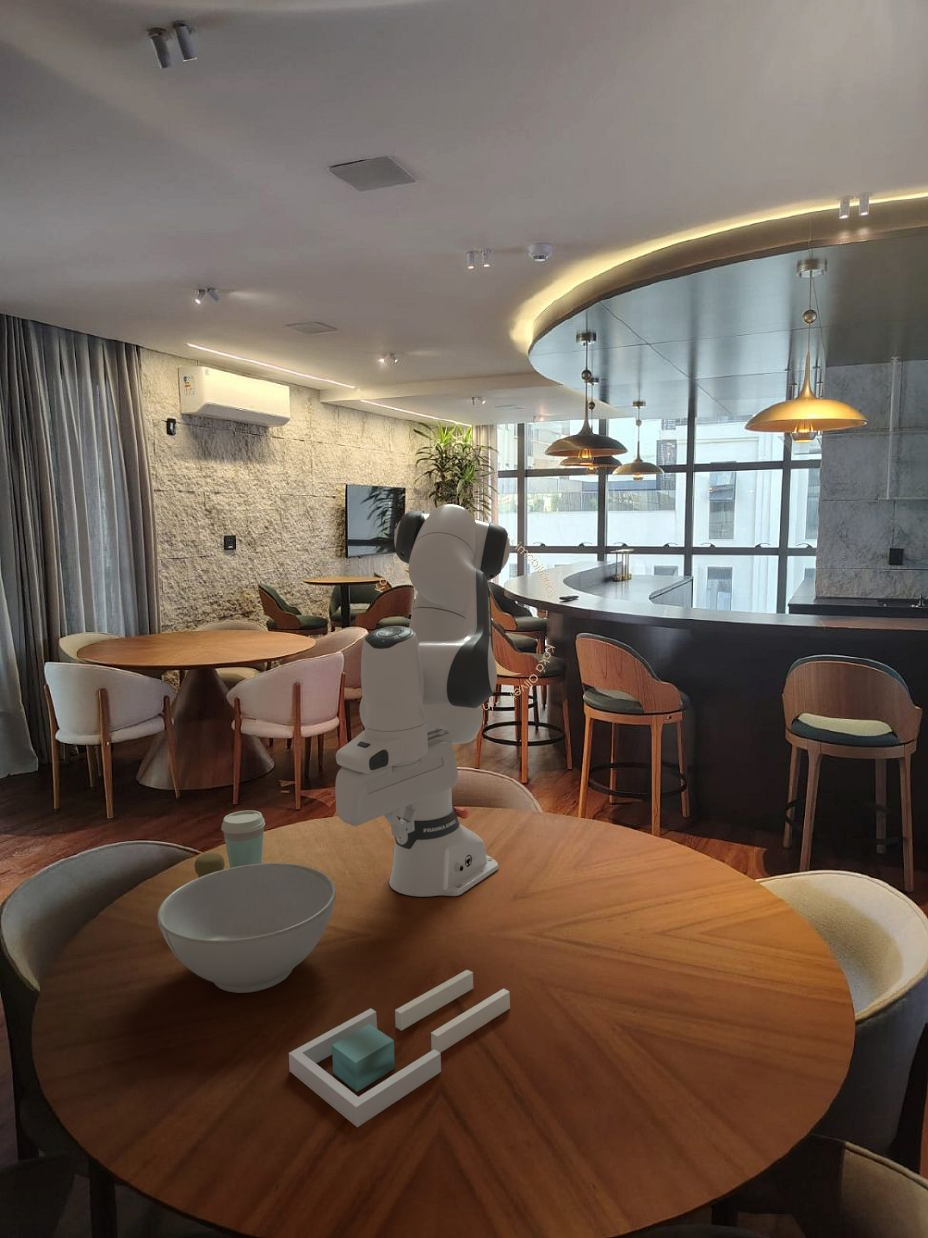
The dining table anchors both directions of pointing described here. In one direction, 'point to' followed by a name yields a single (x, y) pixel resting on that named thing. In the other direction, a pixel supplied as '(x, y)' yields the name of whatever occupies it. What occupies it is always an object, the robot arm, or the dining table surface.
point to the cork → (209, 864)
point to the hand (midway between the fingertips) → (403, 833)
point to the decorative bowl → (248, 923)
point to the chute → (461, 1023)
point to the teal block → (363, 1057)
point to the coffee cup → (244, 837)
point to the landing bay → (342, 1097)
